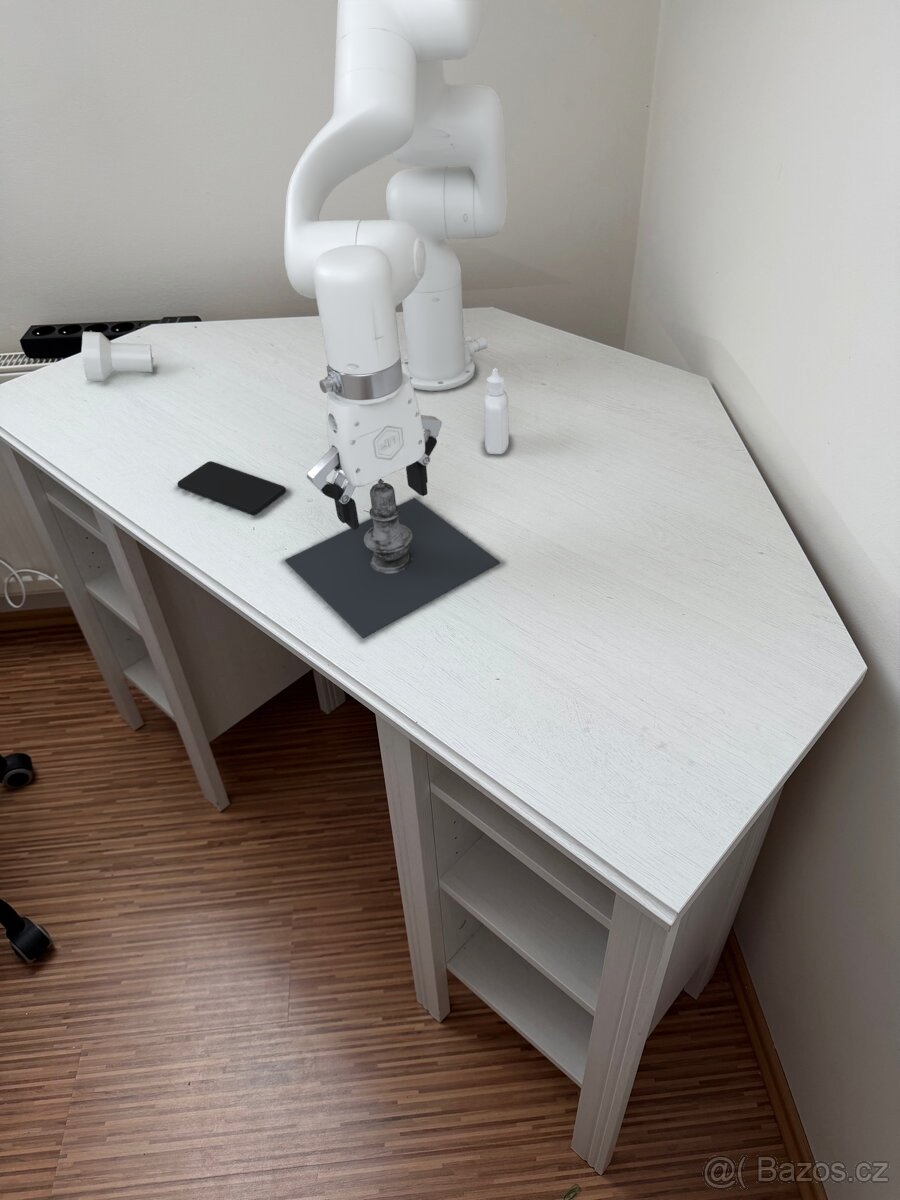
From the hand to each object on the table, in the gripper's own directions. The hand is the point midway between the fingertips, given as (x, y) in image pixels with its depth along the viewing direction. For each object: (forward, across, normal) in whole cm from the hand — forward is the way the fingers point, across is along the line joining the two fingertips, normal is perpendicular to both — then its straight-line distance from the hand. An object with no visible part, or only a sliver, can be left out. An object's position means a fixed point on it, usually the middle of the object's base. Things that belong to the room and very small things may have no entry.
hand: (384, 506), depth 98 cm
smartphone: (+8, -8, +28) cm, 30 cm away
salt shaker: (+8, 0, 0) cm, 8 cm away
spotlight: (+9, -7, +74) cm, 75 cm away
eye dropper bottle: (+9, +27, +12) cm, 30 cm away
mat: (+8, 0, 0) cm, 8 cm away
